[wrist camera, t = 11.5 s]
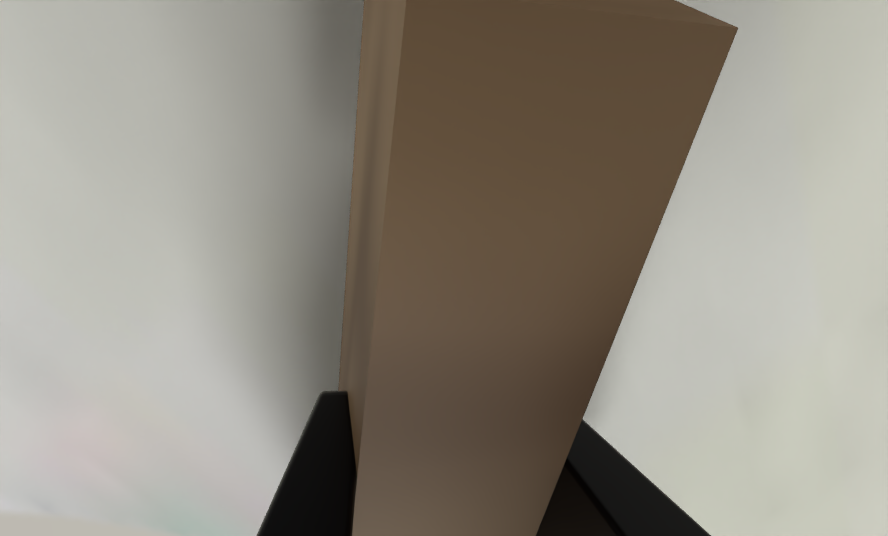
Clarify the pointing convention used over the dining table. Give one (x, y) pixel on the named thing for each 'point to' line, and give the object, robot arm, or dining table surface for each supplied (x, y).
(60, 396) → the dining table surface
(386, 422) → the brown wooden slab
